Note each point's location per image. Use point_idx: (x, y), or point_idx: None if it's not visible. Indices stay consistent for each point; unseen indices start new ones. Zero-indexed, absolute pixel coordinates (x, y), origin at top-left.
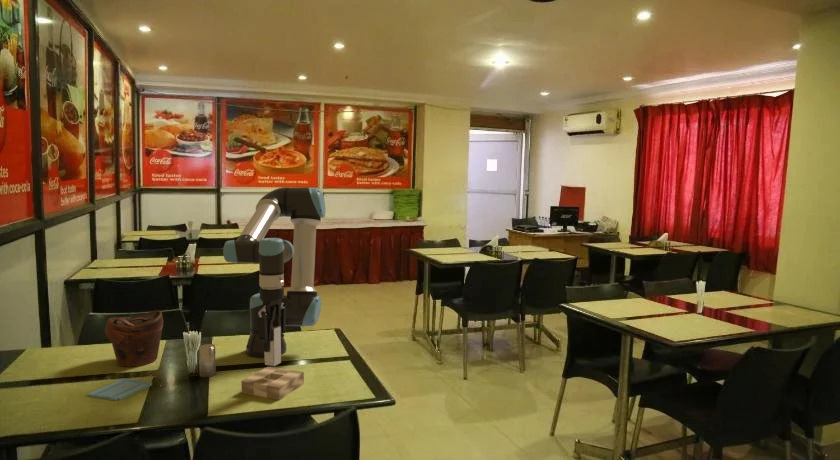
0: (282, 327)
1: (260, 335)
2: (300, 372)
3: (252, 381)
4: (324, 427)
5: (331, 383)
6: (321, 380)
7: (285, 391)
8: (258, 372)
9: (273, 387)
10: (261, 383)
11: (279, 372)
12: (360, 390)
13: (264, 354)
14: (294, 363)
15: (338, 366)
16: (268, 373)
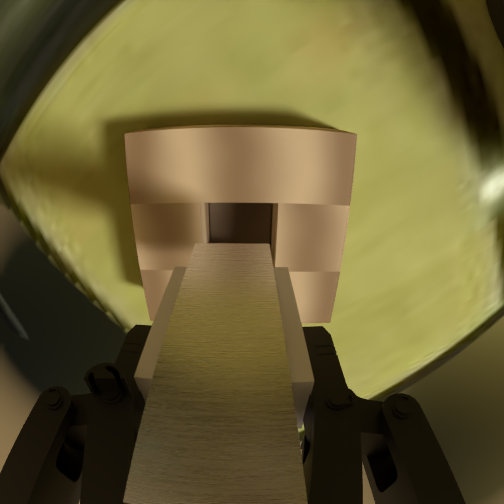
0: (375, 482)
1: (32, 440)
2: (322, 314)
3: (143, 185)
4: None
5: (341, 355)
6: (360, 324)
7: None
8: (259, 134)
9: (146, 296)
10: (144, 238)
11: (297, 235)
12: None
13: (164, 292)
14: (487, 161)
15: (466, 306)
16: (266, 192)
